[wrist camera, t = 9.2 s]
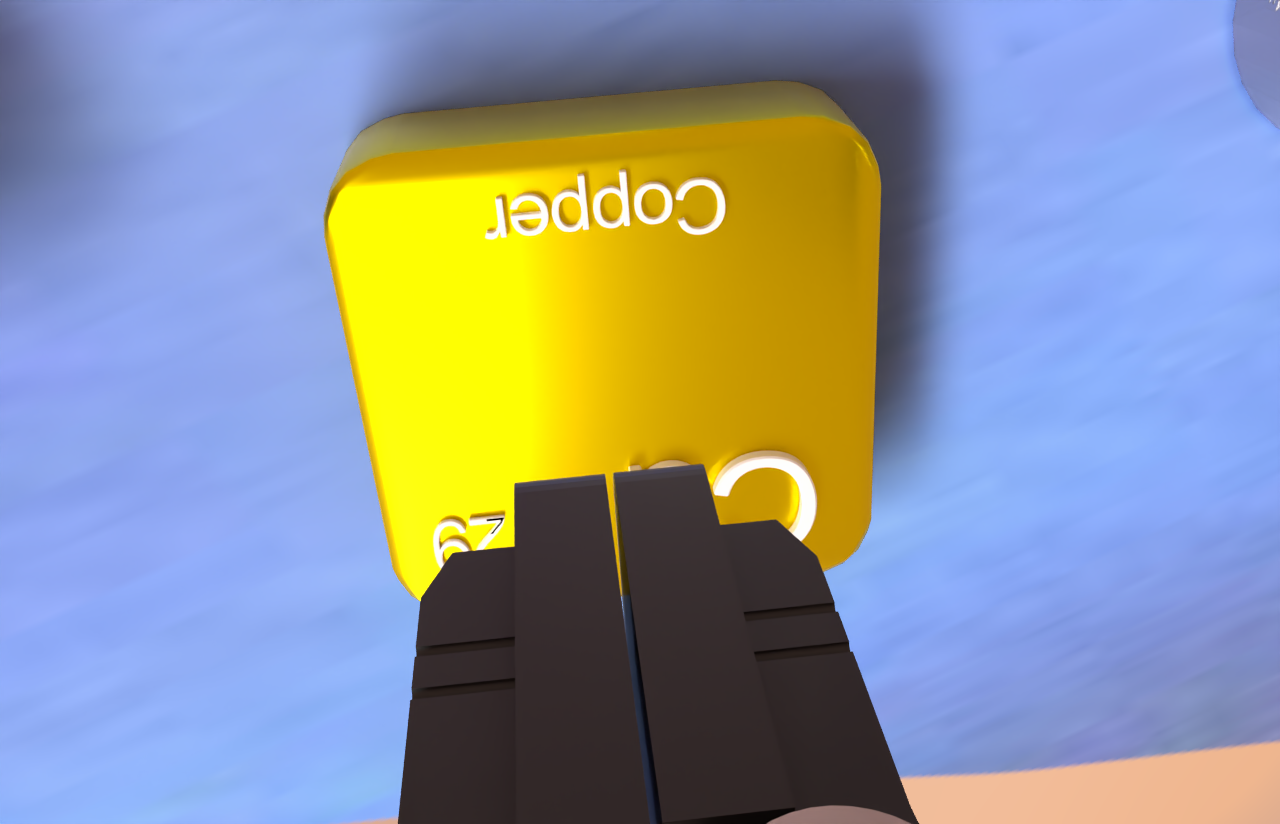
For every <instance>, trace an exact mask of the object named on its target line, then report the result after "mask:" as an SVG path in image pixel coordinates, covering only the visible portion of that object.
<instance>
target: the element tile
mask: <svg viewBox="0 0 1280 824" xmlns="http://www.w3.org/2000/svg"><path fill="white" fill-rule="evenodd" d="M880 211H881V180H880V173H879V166H878V163H877V160H876V158H875V155H874V153H873V151H872V148H871V146H870V144H869V141H868V140H867V138H866V137H865V136H864V135H863V134H862V133H861V131H860V130H859V129H858V128H857V127H856V126H855V124H854V123H853V122H852V121H851V120H850V119H849V117H848V116H847V115H846V114H845V113H844V111H843V110H842V109H841V108H840V107H839V106H838V105H837V104H836V103H835V102H834V101H833V100H832V99H831V98H830V97H829V96H828V95H827V94H825V93H824V92H823V91H822V90H820V89H817V88H815V87H812V86H809V85H806V84H803V83H800V82H794V81H777V80H774V81H762V82H751V83H740V84H729V85H718V86H706V87H695V88H684V89H673V90H661V91H650V92H639V93H628V94H617V95H605V96H594V97H583V98H572V99H561V100H549V101H538V102H527V103H516V104H505V105H493V106H482V107H471V108H460V109H449V110H437V111H426V112H415V113H404V114H400V115H396V116H392V117H389V118H385V119H383V120H381V121H379V122H377V123H375V124H374V125H372V126H370V127H368V128H366V129H364V130H363V131H361V132H360V134H359V135H358V136H357V138H356V139H355V140H354V141H353V143H352V144H351V145H350V147H349V148H348V149H347V151H346V154H345V156H344V158H343V160H342V163H341V165H340V167H339V170H338V172H337V174H336V177H335V179H334V181H333V183H332V186H331V188H330V191H329V195H328V199H327V204H326V208H325V212H324V238H325V243H326V248H327V253H328V258H329V263H330V267H331V272H332V277H333V282H334V287H335V292H336V296H337V301H338V306H339V311H340V316H341V321H342V325H343V330H344V335H345V340H346V345H347V350H348V354H349V359H350V364H351V369H352V374H353V379H354V383H355V388H356V393H357V398H358V403H359V408H360V412H361V417H362V422H363V427H364V432H365V437H366V441H367V446H368V451H369V456H370V461H371V466H372V470H373V475H374V480H375V485H376V490H377V495H378V500H379V504H380V509H381V514H382V519H383V524H384V529H385V533H386V538H387V543H388V548H389V553H390V558H391V562H392V567H393V570H394V572H395V574H396V575H397V577H398V579H399V581H400V582H401V583H402V585H403V586H404V587H405V588H406V590H407V591H408V592H409V594H410V595H411V596H412V597H414V598H416V599H417V600H419V601H421V597H422V595H423V594H424V592H425V591H426V589H427V588H428V587H429V585H430V584H431V582H432V581H433V580H434V578H435V577H436V575H437V574H438V572H439V571H440V570H441V568H442V567H443V565H444V564H445V562H446V561H447V560H448V558H449V557H450V555H451V554H452V553H454V552H464V551H474V550H484V549H493V548H503V547H513V546H514V484H515V483H517V482H527V481H537V480H547V479H557V478H567V477H578V476H588V475H598V474H605V477H606V484H607V492H608V500H609V508H610V515H611V523H612V531H613V539H614V546H615V554H616V562H617V570H618V578H619V585H620V593H621V596H622V588H621V576H620V563H619V551H618V539H617V527H616V514H615V502H614V489H613V473H614V472H625V471H635V470H645V469H655V468H665V467H675V466H685V465H695V464H703V465H704V467H705V470H706V474H707V477H708V481H709V485H710V489H711V492H712V496H713V500H714V504H715V507H716V511H717V515H718V519H719V523H720V525H726V524H735V523H745V522H755V521H765V520H775V519H776V520H777V521H779V522H780V523H781V524H782V525H783V526H784V527H785V528H786V529H788V530H789V531H790V532H791V533H792V534H793V535H794V536H795V537H796V538H798V539H799V540H800V541H801V542H802V543H803V544H804V545H805V546H807V547H808V548H809V549H810V550H811V551H812V552H813V553H814V554H815V555H817V557H818V560H819V562H820V565H821V568H822V570H823V572H824V571H827V570H829V569H831V568H833V567H835V566H838V565H840V564H842V563H844V562H845V561H846V560H847V559H848V558H849V557H850V556H851V555H852V554H853V553H854V552H856V551H857V550H858V548H859V547H860V545H861V543H862V541H863V539H864V537H865V535H866V533H867V531H868V528H869V524H870V521H871V505H872V472H873V440H874V407H875V374H876V342H877V309H878V276H879V244H880Z"/></svg>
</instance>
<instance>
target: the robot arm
mask: <svg viewBox="0 0 1280 824" xmlns="http://www.w3.org/2000/svg"><path fill="white" fill-rule="evenodd" d="M1233 38H1234V56H1235V60H1236V63H1237V67H1238V70H1239V74H1240V77H1241V81H1242V84H1243V86H1244V88H1245V89H1246V91H1247V93H1248V95H1249V96H1250V98H1251V100H1252V101H1253V103H1254V105H1255V107H1256V108H1257V109H1258V110H1259V111H1260V112H1261V113H1262V114H1263V115H1264V116H1265V117H1266V118H1267V119H1268V120H1269V121H1270V122H1271V123H1272V124H1273V125H1274V126H1275V127H1276V128H1278V129H1280V0H1236V5H1235V12H1234V18H1233ZM613 489H614V502H615V514H616V527H617V539H618V551H619V563H620V576H621V588H622V600H623V609H622V601H621V593H620V585H619V578H618V570H617V562H616V554H615V546H614V539H613V531H612V523H611V515H610V508H609V500H608V492H607V484H606V477H605V474H598V475H588V476H578V477H567V478H557V479H547V480H537V481H527V482H517V483H515V484H514V546H513V547H503V548H493V549H484V550H474V551H464V552H454V553H452V554H451V555H450V557H449V558H448V560H447V561H446V562H445V564H444V565H443V567H442V568H441V570H440V571H439V572H438V574H437V575H436V577H435V578H434V580H433V581H432V582H431V584H430V585H429V587H428V588H427V589H426V591H425V592H424V594H423V595H422V597H421V602H420V611H419V621H418V631H417V641H416V653H417V657H415V661H414V670H413V680H412V700H410V710H409V719H408V729H407V739H406V749H405V759H404V769H403V778H402V788H401V798H400V808H399V818H398V824H919V823H918V821H917V819H916V817H915V815H914V813H913V811H912V809H911V807H910V804H909V801H908V799H907V796H906V793H905V791H904V788H903V785H902V783H901V780H900V777H899V775H898V772H897V769H896V767H895V764H894V761H893V758H892V756H891V753H890V750H889V748H888V745H887V742H886V740H885V737H884V734H883V732H882V729H881V726H880V724H879V721H878V718H877V716H876V713H875V710H874V707H873V705H872V702H871V699H870V697H869V694H868V691H867V689H866V686H865V683H864V681H863V678H862V675H861V673H860V670H859V667H858V664H857V662H856V659H855V656H854V654H853V652H850V648H849V640H848V638H847V635H846V632H845V630H844V627H843V624H842V621H841V619H840V616H839V613H838V612H836V611H835V605H834V600H833V597H832V595H831V592H830V589H829V587H828V584H827V581H826V578H825V576H824V573H823V570H822V568H821V565H820V562H819V560H818V557H817V555H815V554H814V553H813V552H812V551H811V550H810V549H809V548H808V547H807V546H805V545H804V544H803V543H802V542H801V541H800V540H799V539H798V538H796V537H795V536H794V535H793V534H792V533H791V532H790V531H789V530H788V529H786V528H785V527H784V526H783V525H782V524H781V523H780V522H779V521H777V520H776V519H775V520H765V521H755V522H745V523H735V524H726V525H720V523H719V519H718V515H717V511H716V507H715V504H714V500H713V496H712V492H711V489H710V485H709V481H708V477H707V474H706V470H705V467H704V465H703V464H695V465H685V466H675V467H665V468H655V469H645V470H635V471H625V472H614V473H613ZM623 613H624V616H623Z"/></svg>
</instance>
